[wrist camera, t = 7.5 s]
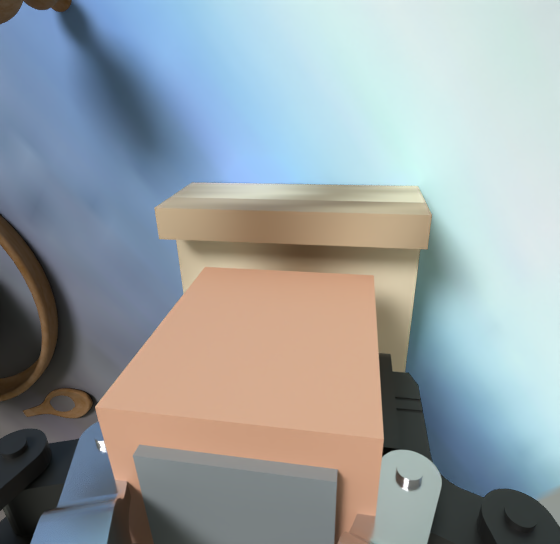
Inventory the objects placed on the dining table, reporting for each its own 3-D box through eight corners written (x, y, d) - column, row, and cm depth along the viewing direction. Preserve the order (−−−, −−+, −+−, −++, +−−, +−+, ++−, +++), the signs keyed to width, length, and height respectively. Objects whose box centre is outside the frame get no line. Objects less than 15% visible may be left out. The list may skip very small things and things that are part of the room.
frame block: (373, 275, 12) (383, 451, 7) (361, 432, 15) (362, 655, 9) (204, 267, 13) (86, 417, 7) (221, 417, 15) (143, 613, 10)
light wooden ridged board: (417, 186, 14) (432, 214, 12) (378, 530, 22) (381, 599, 19) (192, 182, 16) (154, 207, 13) (229, 508, 23) (211, 570, 20)
